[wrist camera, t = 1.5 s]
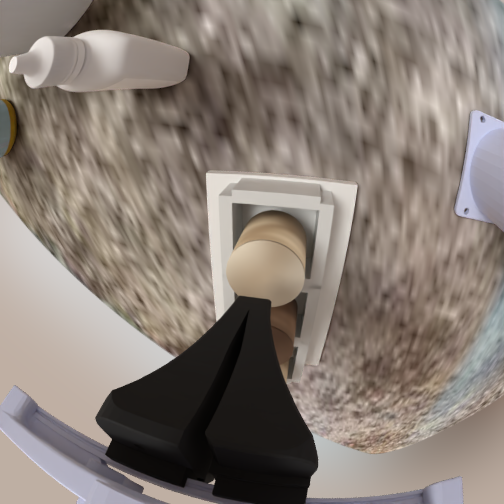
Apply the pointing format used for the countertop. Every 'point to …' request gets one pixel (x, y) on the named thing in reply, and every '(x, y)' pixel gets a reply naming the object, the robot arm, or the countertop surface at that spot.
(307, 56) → the countertop surface
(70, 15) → the utensil holder
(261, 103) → the countertop surface
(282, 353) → the walnut plug
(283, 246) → the maple plug
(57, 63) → the eye dropper bottle
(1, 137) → the bottle
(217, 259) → the white compartment tray
